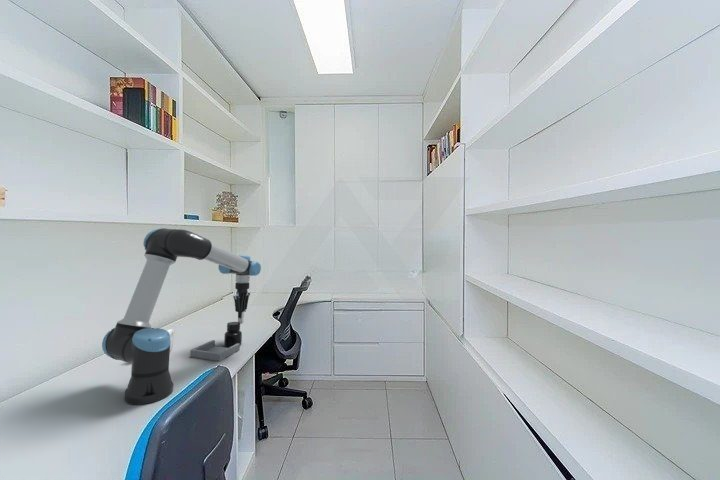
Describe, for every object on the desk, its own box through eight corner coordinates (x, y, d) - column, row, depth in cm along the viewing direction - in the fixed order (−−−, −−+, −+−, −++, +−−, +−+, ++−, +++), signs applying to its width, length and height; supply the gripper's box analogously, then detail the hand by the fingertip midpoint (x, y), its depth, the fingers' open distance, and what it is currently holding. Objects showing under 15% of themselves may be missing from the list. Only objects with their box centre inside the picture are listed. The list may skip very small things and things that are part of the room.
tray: (219, 361, 148) (219, 354, 148) (190, 357, 151) (190, 350, 151) (239, 350, 163) (239, 343, 163) (212, 346, 167) (212, 340, 167)
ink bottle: (244, 343, 175) (245, 321, 175) (237, 348, 166) (238, 326, 166) (228, 341, 176) (229, 320, 176) (220, 346, 167) (221, 324, 167)
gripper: (241, 284, 170) (239, 326, 170) (254, 281, 183) (252, 321, 183) (229, 283, 172) (227, 325, 172) (243, 280, 185) (241, 319, 185)
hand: (240, 323), depth 177 cm, fingers closed
